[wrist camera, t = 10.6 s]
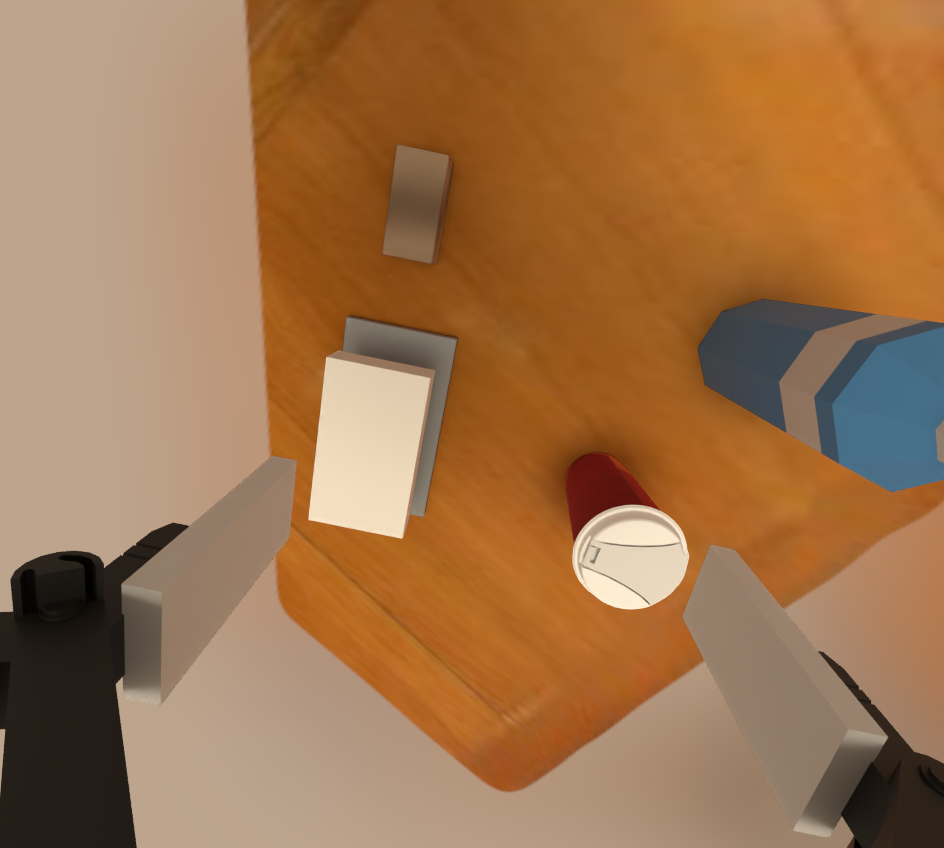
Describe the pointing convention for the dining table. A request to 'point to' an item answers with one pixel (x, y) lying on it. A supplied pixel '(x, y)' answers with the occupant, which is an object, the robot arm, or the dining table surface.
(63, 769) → the robot arm
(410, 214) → the riser block
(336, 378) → the shelf board
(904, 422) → the water bottle
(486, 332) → the dining table surface
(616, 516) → the coffee cup
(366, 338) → the peg stand
